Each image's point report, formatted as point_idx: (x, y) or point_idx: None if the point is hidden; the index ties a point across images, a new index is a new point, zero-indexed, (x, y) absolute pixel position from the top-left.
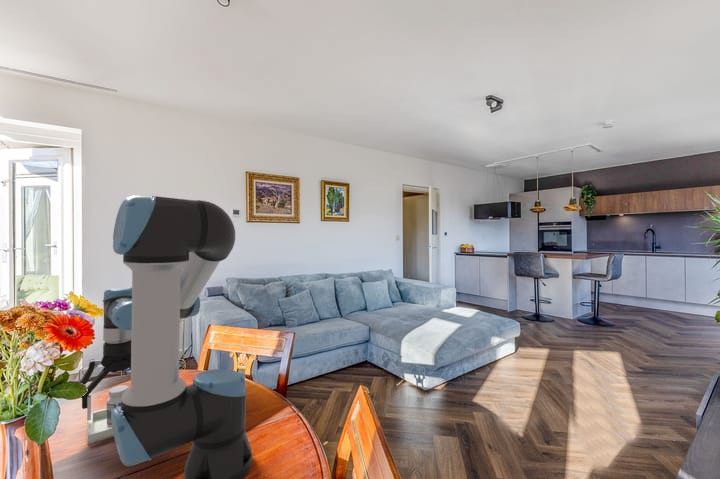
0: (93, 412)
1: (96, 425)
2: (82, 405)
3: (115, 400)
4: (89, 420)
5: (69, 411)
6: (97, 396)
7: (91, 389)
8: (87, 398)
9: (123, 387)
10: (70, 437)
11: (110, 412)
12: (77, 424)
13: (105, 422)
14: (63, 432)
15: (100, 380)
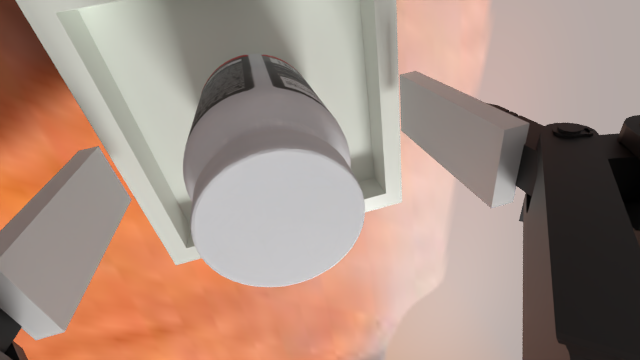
0: (384, 198)
1: (354, 115)
2: (506, 111)
3: (283, 107)
4: (394, 125)
5: (442, 264)
6: (374, 331)
7: (565, 173)
8: (522, 122)
9: (241, 243)
10: (440, 65)
11: (303, 83)
12: (419, 169)
13: None
14: None
15: (567, 267)
